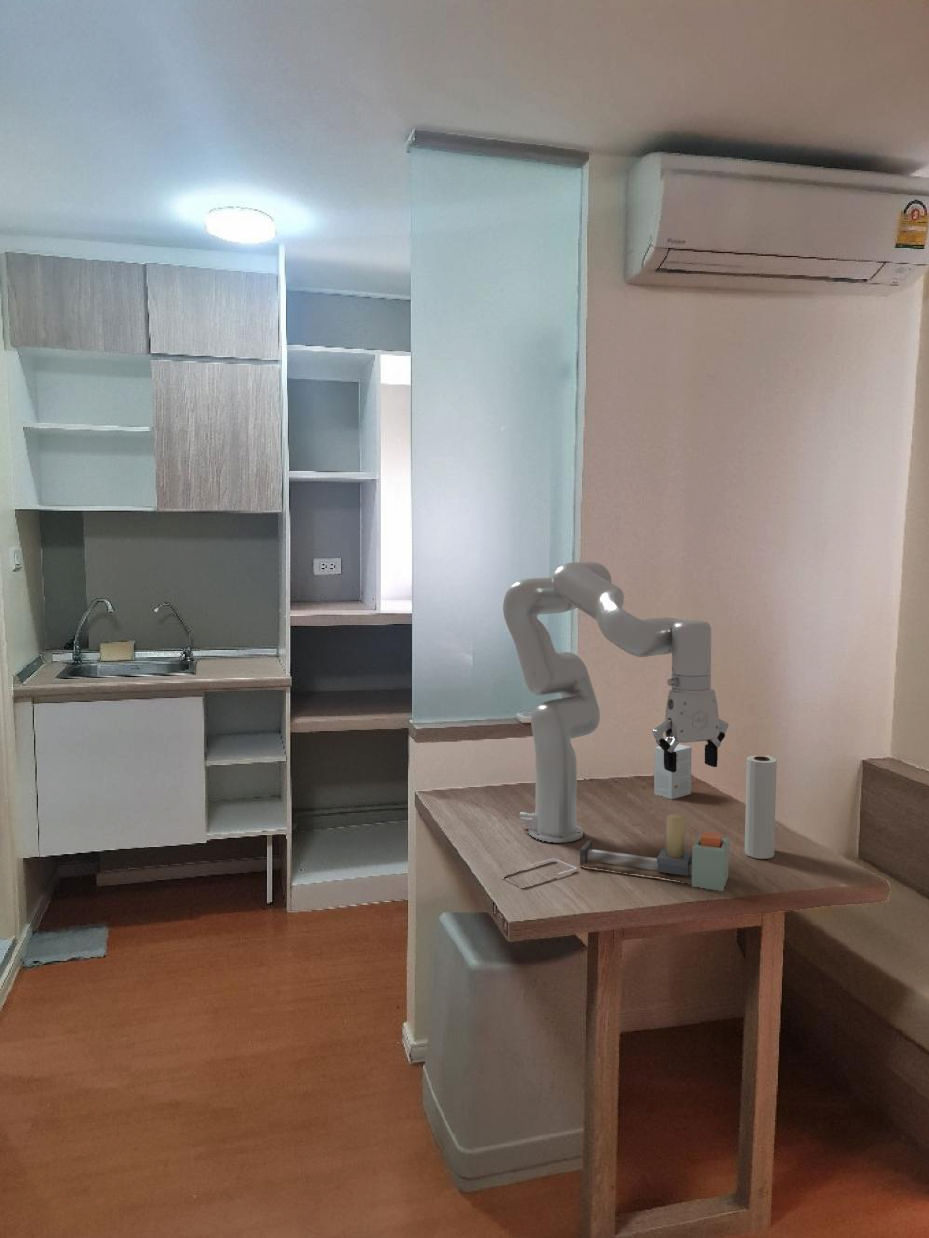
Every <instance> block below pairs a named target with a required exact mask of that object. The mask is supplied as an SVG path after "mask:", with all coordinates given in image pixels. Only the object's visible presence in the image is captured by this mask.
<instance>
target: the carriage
mask: <svg viewBox="0 0 929 1238" xmlns="http://www.w3.org/2000/svg"><path fill="white" fill-rule="evenodd" d="M685 820H686V819H685V815H682V814H680V813H669V814H667V815H666V833H665V835H666V836H665V837H666V839H665V840H666V841H665V842H666V843H665V848H664V847H662V849H661V851H660V852H659V854H658V855H657V857H656V858H657V864H658V872H664V873H671V874H677V875H684V876H688V875H689V864H690V863H692V851H686V850H685Z"/></svg>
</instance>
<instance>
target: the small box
mask: <svg viewBox="0 0 929 1238" xmlns="http://www.w3.org/2000/svg"><path fill="white" fill-rule="evenodd" d="M674 752H676V754H677V764H676V772H670V771H668V770H665V768H664V750H662V749H661V747H660V746H659V745H658V746H656V747H654V754H653V755H654V760H653V762H654V769H653V770H654V775H653V777H654V778H653V782H654V784H653V785H654V786H653V788H654V789H653V791H654V793H653V794H654V795H655V796H658V795H659V796H658V797H661V796H663V797H662V798H665V799H668V800H674V799H678V798H681V797H685V796H689V795H692V747H691V746H688V745H685V744H680V743H679V744H678V745H677V747H676V748H675V750H674Z"/></svg>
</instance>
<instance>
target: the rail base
mask: <svg viewBox="0 0 929 1238" xmlns="http://www.w3.org/2000/svg"><path fill="white" fill-rule="evenodd" d="M580 866H584V867H589V868H597V869H603V870H609V871H615V872H621V873H627V874H638V875H644V876H652V877H660V878H665V879H670V880H676V881H680V882H684V883H689V884H688V885H690V884H692V863H690V864H689V875H688V876H684V875H677V874H671V873H664V872H658V864H657V857H650V856H642V855H637V854H635V855H634V854H629V853H622V852H616V851H615V852H613V851H607V850H600V849H593V840H589V839H588V840H587V841H586V842H585V843H584V844H583V845H582V846H581V847H580V849H579V867H580Z"/></svg>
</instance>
